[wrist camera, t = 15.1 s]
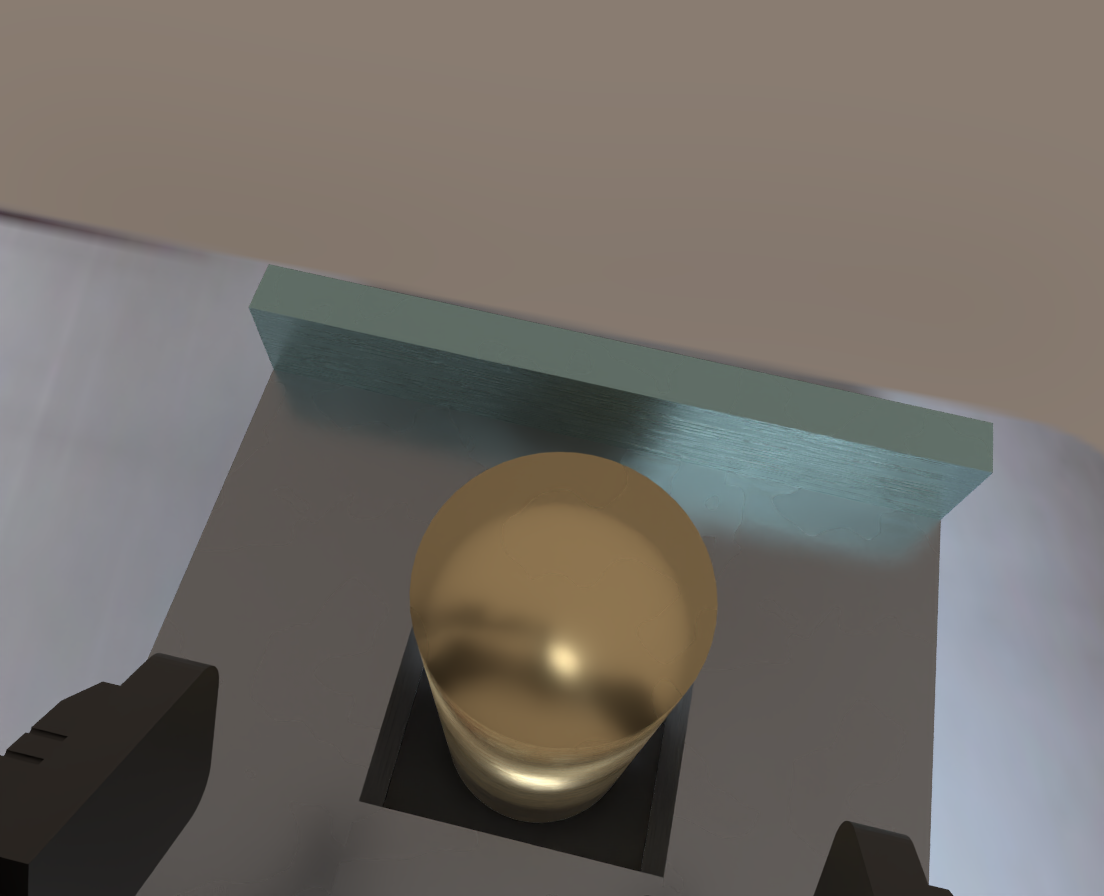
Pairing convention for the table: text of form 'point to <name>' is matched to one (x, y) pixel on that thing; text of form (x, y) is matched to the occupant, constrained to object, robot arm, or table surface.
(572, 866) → the jig
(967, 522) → the table surface
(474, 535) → the brass cylinder
